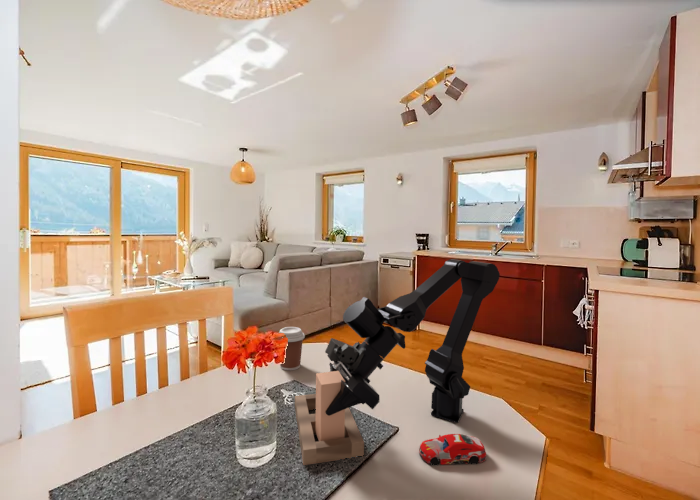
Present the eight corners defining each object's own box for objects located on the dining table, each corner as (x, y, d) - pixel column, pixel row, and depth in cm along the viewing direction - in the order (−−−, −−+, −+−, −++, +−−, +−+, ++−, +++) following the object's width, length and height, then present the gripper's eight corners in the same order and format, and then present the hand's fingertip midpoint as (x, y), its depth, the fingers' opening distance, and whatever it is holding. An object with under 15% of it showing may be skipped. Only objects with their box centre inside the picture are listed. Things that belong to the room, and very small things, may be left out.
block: (337, 427, 74) (338, 370, 73) (344, 441, 69) (345, 381, 68) (315, 431, 73) (316, 373, 71) (320, 446, 68) (321, 384, 67)
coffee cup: (280, 374, 103) (281, 336, 103) (272, 363, 111) (272, 327, 110) (308, 368, 108) (309, 332, 107) (298, 358, 116) (299, 324, 115)
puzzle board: (294, 407, 85) (294, 395, 84) (341, 402, 87) (341, 391, 87) (303, 465, 64) (303, 450, 64) (363, 456, 67) (364, 441, 67)
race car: (422, 468, 65) (423, 448, 64) (415, 449, 70) (416, 431, 70) (489, 466, 65) (490, 446, 65) (477, 448, 71) (478, 429, 70)
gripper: (336, 315, 79) (289, 366, 77) (365, 340, 62) (305, 408, 59) (367, 344, 82) (322, 394, 80) (402, 377, 65) (347, 442, 62)
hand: (323, 407), depth 70 cm, fingers closed on block, 5 cm apart
